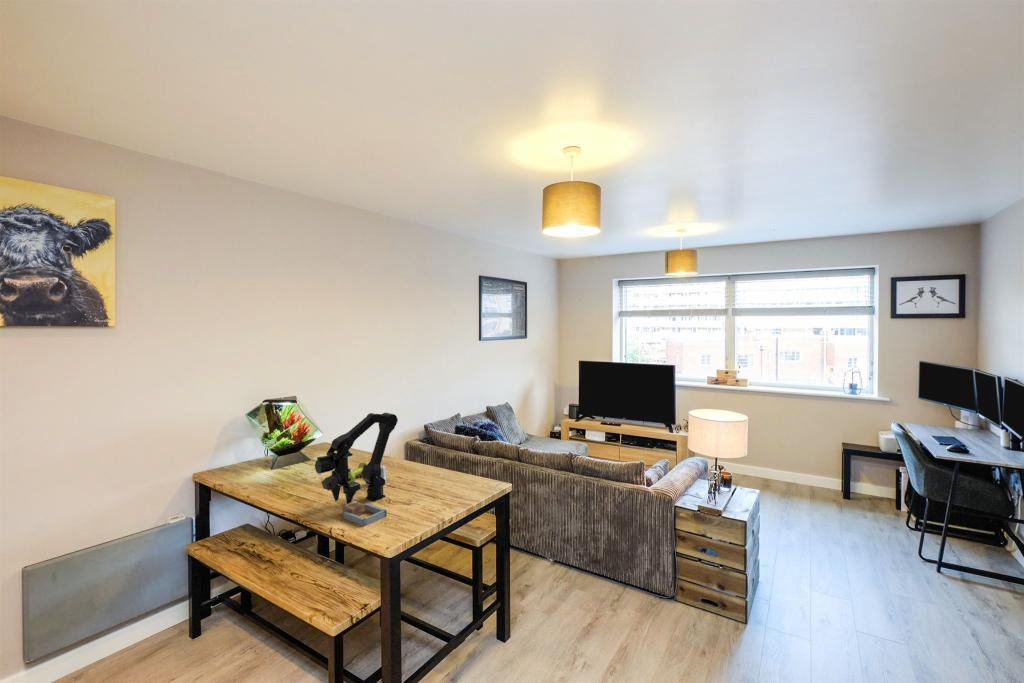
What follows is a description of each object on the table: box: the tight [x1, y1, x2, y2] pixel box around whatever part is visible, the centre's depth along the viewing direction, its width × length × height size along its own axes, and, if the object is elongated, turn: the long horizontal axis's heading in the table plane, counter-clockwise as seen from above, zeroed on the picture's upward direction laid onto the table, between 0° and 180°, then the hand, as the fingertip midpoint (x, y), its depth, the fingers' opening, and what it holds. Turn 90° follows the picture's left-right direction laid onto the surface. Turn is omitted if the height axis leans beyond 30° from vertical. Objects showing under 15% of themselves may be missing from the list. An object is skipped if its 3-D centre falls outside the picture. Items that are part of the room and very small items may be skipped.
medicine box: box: [367, 465, 387, 486], centre depth 231 cm, size 8×4×9 cm, turn 92°
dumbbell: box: [348, 460, 370, 483], centre depth 239 cm, size 16×8×7 cm, turn 156°
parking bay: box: [343, 503, 388, 527], centre depth 192 cm, size 11×13×2 cm
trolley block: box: [342, 500, 366, 517], centre depth 196 cm, size 6×7×4 cm
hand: (342, 503), depth 201 cm, fingers open, 8 cm apart
